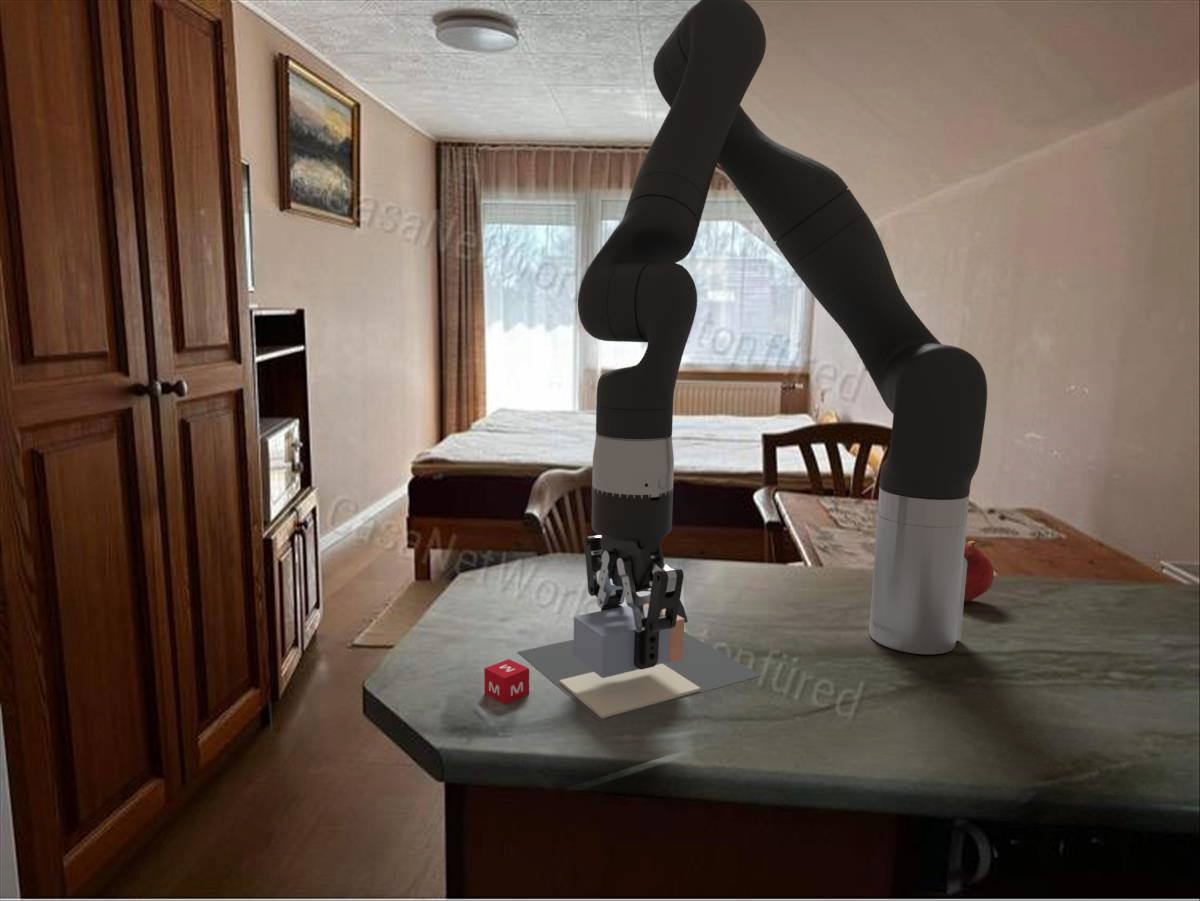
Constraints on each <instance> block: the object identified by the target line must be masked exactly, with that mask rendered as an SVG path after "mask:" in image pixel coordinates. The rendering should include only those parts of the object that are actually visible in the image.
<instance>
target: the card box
mask: <svg viewBox="0 0 1200 901" xmlns="http://www.w3.org/2000/svg"><path fill="white" fill-rule="evenodd" d="M648 608H649V604H644V606H643V609H644V615H645V617H647V614H648ZM665 610H666V609H663V610H662V613H663V615H665ZM635 630H637V629H636V627H635V621H634V616H633V610H632V608H631V607H629V606H628V605H625V606H623V607H619V608H614V609H609V610H604V611H601V610H599V611H594V612H590V613H589V612H588V613H584V614H580V615H574V616H573V640H574V650H573V656H574V657H576V658H577V659H578V660H579V661H581V662H582V663H583V664H585V665H586V666H587V667H588V668H590V669H591V670H592V671H594V672H595V673H596V674H598V675H599V676H600V677H601V678H606V677H610V676H614V675H618V674H622V673H626V672H630V671H634V670H638V668H637V667H636V666H635V665H634V643H635ZM684 632H685V623H684V618H682V617H680V616H678V615H677V620H676V626H675V627H674V628H670V629H664V630H660V632H659V648H658V649H659V652H658V661H657V664H656V665H658V664H663V663H667V662H672V661H676V660H680V659H683V647H684Z"/></svg>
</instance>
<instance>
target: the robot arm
mask: <svg viewBox="0 0 1200 901" xmlns="http://www.w3.org/2000/svg"><path fill="white" fill-rule="evenodd" d="M766 47H767V37H766V31H765V28H764V24H763V23H762V20H761V18H760V16H759V14H758V13H757V12H756V10H755V9H754V8H753V7H752V6H751V5H750V3H748V1H746V0H697V1H695V3H693V4H692V6H691V7H690V8H689V9H688V11H687V12H685V14H684V15H683V17H682V18H681V19H680V21H679V22H678V24H677V25H676V26H675V28H674V29H673V30H672V31H671V33H670V34H669V36H668V37H667V38H666V40H665V41H664V43H663V44H662V46H660V48H659V50H657V53H656V56H655V57H654V60H653V64H652V65H653V66H652V67H653V68H652V69H653V70H652V71H653V76H654V80H655V84H656V86H657V88H658V91H659V92H660V94H661V96H662V97H663V99H664V101H665V102H666V104H667V105H668V106H669V108H670V109H669V111H668V113H667V115H666V116H665V119H664V121H663V123H662V124H661V127H660V128H659V130H658V132H657V134H656V136H655V138H654V140H653V142H652V143H651V145H650V147H649V149H648V150H647V153H646V155H645V156H644V159H643V161H642V164H641V165H640V168H639V171H638V173H637V175H636V178H635V181H634V184H633V187H632V190H631V193H630V196H629V199H628V203H627V206H626V209H625V211H624V215H623V218H622V220H621V221H620V223H618V225H617V226H616V228H614V230H613V231H612V233H611V235H610V236H609V237H608V239H607V240H606V242H604V244H603V246H602V247H601V248H600V249H599V251H598V253H596V255H595V256H594V258H593V259H592V261H591V263H590V264H589V266H588V268H587V270H586V272H585V273H584V276H583V278H582V281H581V283H580V287H579V291H578V295H577V311H578V312H577V313H578V316H579V317H578V318H579V321H580V323H581V325H582V327H583V328H584V330H585V331H586V332H587V334H588V335H590V336H591V337H592V338H594V339H597V340H600V341H604V342H617V343H618V342H621V343H623V342H625V343H626V342H627V343H647V347H646V349H645V351H644V354H643V357H641V359H640V361H639V362H638V363H637V364H635V365H631V366H626V367H619V368H615V369H611V370H610V369H609V370H608V371H606V372H604V373H602V374H601V375H600V376H599V378H598V381H597V385H596V407H595V408H596V409H595V412H596V413H595V433H596V434H595V442H594V448H593V453H592V454H593V455H592V477H591V478H592V479H591V480H592V481H591V482H592V483H591V529H592V531H593V532H594V533H595V534H596V535H589V536H586V537H585V538H584V540H583V541H584V553H585V567H586V578H587V590H588V591H587V592H588V594H589V596H590V597H594V596H595V597H596V603H597V606H598V608H600V611H604V610H609V609H614V608H619V607H624V606H623V604H624V601H625V603H626V606H629V607H631V608H632V610H633V616H634V621H635V627H636V629H637V630H635V643H634V665H635V666H636V667H637V668H638V669H640V670H642V669H646V668H650V667H654V666H655V665H656V664H657V661H658V652H659V649H658V648H659V632H660V630H664V629H670V628H674V627H675V626H676V620H677V614H678V608H679V602H680V601H681V595H682V588H683V583H684V571H683V569H682V568H681V567H674V568H673V567H672V568H671V567H669V565H667V564H666V563H665V562H664V554H663V550H662V541H663V540H664V539H665V538H666V537H667V536H668V535H669V534H670V533H671V531H672V529H673V528H672V526H673V503H674V501H673V500H674V499H673V498H674V473H675V472H674V470H675V468H674V467H675V463H674V462H675V461H674V460H675V456H674V450H673V449H674V447H673V446H674V445H673V436H672V435H673V419H674V418H673V415H674V397H675V388H676V383H677V379H678V374H679V370H680V368H681V367H680V366H681V363H682V358H683V356H684V352H685V348H686V346H687V342H688V340H689V337H690V333H691V330H692V327H693V324H694V322H695V317H696V314H697V308H698V307H697V306H698V291H697V286H696V284H695V281H694V279H693V277H692V275H691V273H690V272H689V270H688V269H687V268H685V267H684V266H683V265H681V264H680V263H678V262H681V261H682V260H684V259H686V257H687V256H688V255H689V254H690V253H691V251H692V249H693V248H694V245H695V242H696V238H697V235H698V230H699V226H700V223H701V219H702V216H703V214H704V213H703V212H704V209H705V206H706V202H707V198H708V194H709V191H710V187H711V184H712V181H713V177H714V174H715V172H716V171H715V170H716V167H717V165H718V166H719V167H720V168H721V170H723V172H724V173H725V175H726V176H727V177H728V179H729V180H730V181H731V182H732V184H733V186H735V188H736V189H737V190H738V191H739V192H738V193H740V194H741V196H742V197H743V199H744V200H745V201H746V203H747V204H748V205H749V206H750V209H752V211H753V212H754V213H755V215H756V216H757V218H758V220H759V221H760V222H761V224H762V226H764V228H765V230H766V232H767V233H768V235H769V236H770V238H771V240H772V241H773V242H774V243H775V245H776V247H777V248H778V250H779V251H780V252H781V254H782V256H784V258H785V259H786V261H787V263H788V264H789V265H790V267H791V268H792V270H793V271H794V272H795V273H796V275H797V276H798V277H799V279H800V280H801V281H802V282H803V283H804V285H805V286H806V288H807V289H808V290H809V292H810V293H811V294H812V295H813V297H814V298H815V299H816V300H817V301H818V303H819V304H820V305H821V307H822V308H823V309H824V310H825V311H826V312H827V313H828V314H829V316H830V317H831V318H832V319H833V320H834V322H835V323H836V324H837V325H838V326H839V328H840V329H841V330H842V332H843V333H844V334H845V336H846V337H847V338H848V339H849V341H850V343H851V344H852V346H853V347H854V349H855V351H856V353H857V354H858V356H859V358H860V361H861V362H862V364H863V366H864V367H865V368H866V371H867V373H868V374H869V376H870V378H871V379H872V382H873V384H874V385H875V388H876V390H877V391H878V393H879V395H880V397H881V398H882V400H883V403H884V404H885V406H886V408H888V410H889V411H890V412H891V414H893V415H892V416H893V417H892V426H891V434H890V435H891V437H890V445H889V450H888V455H887V457H886V459H885V460H884V461H883V463H882V465H881V467H880V475H879V491H878V492H879V493H878V501H877V502H878V504H877V519H876V532H875V543H874V544H875V545H874V546H875V548H874V561H873V574H872V585H871V586H872V587H871V601H870V613H869V614H870V616H869V623H868V624H869V627H868V628H869V629H868V635H869V636H870V637H871V639H872V640H874V641H875V642H876V643H878V644H880V645H882V646H884V647H887V648H889V649H892V650H896V651H899V652H904V653H909V654H917V655H940V654H945V653H949V652H951V651H953V650H954V649H955V648H956V644H957V641H961V634H962V627H963V626H962V624H963V615H964V603H965V601H964V594H965V584H966V573H967V560H966V559H965V558H964V550H965V546H966V540H967V539H966V536H967V527H968V526H967V525H968V513H969V503H970V491H971V484H972V480H973V477H974V476H975V475H976V472H977V470H978V467H979V464H980V460H981V459H980V458H981V451H982V445H983V439H984V438H983V437H984V432H985V431H984V430H985V424H986V422H985V421H986V414H987V405H988V404H987V403H988V386H987V385H988V383H987V381H988V380H987V377H986V373H985V370H984V369H983V366H982V365H981V363H980V362H979V360H978V359H977V358H976V357H975V356H974V355H973V354H971V353H970V352H969V351H966V350H965V349H963V348H960V347H957V346H954V345H949V344H942V343H941V342H940V341H939V340H938V339H937V338H936V337H935V335H934V334H933V333H932V332H931V331H930V330H929V328H928V327H927V326H926V325H925V323H924V322H923V321H922V320H921V319H920V317H919V316H918V315H917V314H916V312H915V311H914V309H913V308H912V307H911V306H910V305H909V303H908V301H907V299H906V298H905V296H904V294H903V293H902V291H901V289H900V287H899V285H898V283H897V280H896V277H895V275H894V272H893V269H892V266H891V262H890V261H889V258H888V256H887V252H886V251H885V247H884V245H883V243H882V240H881V238H880V236H879V234H878V231H877V229H876V228H875V226H874V224H873V222H872V221H871V218H870V217H869V216H868V214H867V213H866V211H865V210H864V208H863V207H862V205H861V204H860V202H859V201H858V199H857V198H856V197H855V195H854V194H853V192H852V191H851V189H850V188H849V186H848V185H847V183H846V182H845V181H844V180H843V178H841V177H840V175H839V174H838V173H836V171H834V170H833V169H832V168H830V167H829V166H826V165H825V164H823V163H821V162H820V161H817V160H815V159H813V158H811V157H809V156H807V155H805V154H802V153H800V152H798V151H795V150H794V149H791V148H788V147H786V146H785V145H782V144H780V143H778V142H777V141H775V140H773V139H772V138H770V137H769V136H768V135H766V134H765V133H764V132H763V131H762V130H761V129H760V128H759V127H758V126H757V124H756V123H754V121H753V120H752V119H751V117H750V116H749V114H748V113H746V111H745V110H744V108H743V107H742V106H741V103H742V102H743V99H744V97H745V95H746V92H747V91H748V89H749V87H750V85H751V83H752V81H753V79H754V77H755V76H756V74H757V72H758V69H759V67H760V66H761V64H762V61H763V60H764V57H765V53H766V50H767V48H766ZM598 572H599V575H598ZM597 575H598V576H597ZM650 587H651V588H650ZM646 590H651V591H650V593H649V594H648V595H642V596H639V595H638V593H640V592H647V591H646ZM644 604H649V608H648V614H647V617H645V615H644V609H643V606H644ZM663 609H666V610H665V615H663V613H662V610H663Z"/></svg>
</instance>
